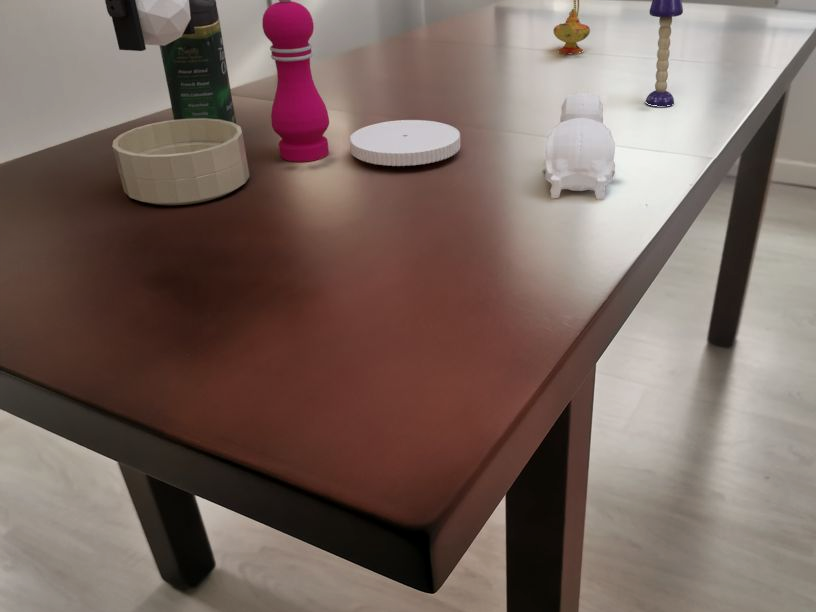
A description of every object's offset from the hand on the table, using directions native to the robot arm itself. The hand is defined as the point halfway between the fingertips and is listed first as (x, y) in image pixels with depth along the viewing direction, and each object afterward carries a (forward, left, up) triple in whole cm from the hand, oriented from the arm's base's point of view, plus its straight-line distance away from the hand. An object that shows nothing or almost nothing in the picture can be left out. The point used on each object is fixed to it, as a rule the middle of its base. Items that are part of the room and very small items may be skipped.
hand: (158, 41), depth 86 cm
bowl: (-1, +1, -17) cm, 17 cm away
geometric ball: (0, 0, -1) cm, 1 cm away
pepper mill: (+7, +15, -17) cm, 24 cm away
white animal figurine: (+43, +15, -17) cm, 49 cm away
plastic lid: (+20, +18, -17) cm, 32 cm away
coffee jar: (-10, +19, -17) cm, 27 cm away
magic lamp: (+28, +81, -17) cm, 87 cm away
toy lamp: (+48, +50, -17) cm, 71 cm away
